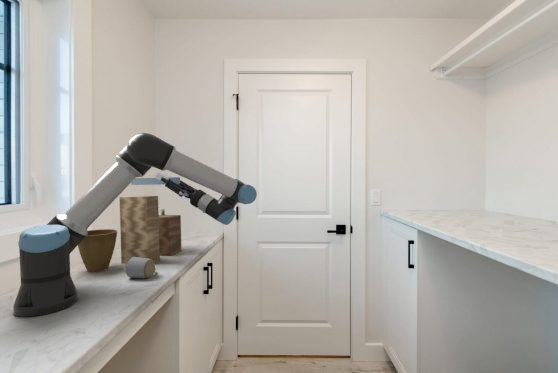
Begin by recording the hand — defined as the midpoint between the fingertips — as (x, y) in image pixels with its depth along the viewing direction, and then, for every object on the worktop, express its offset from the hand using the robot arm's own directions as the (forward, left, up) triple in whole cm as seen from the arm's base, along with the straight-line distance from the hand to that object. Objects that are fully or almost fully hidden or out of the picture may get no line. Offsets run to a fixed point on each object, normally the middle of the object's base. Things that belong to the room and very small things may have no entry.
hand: (160, 175), depth 132 cm
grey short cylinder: (-13, -13, -40) cm, 44 cm away
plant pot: (-23, +9, -40) cm, 47 cm away
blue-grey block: (-1, +2, -4) cm, 5 cm away
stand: (-6, +9, -40) cm, 41 cm away
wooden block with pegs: (+7, +18, -39) cm, 44 cm away
